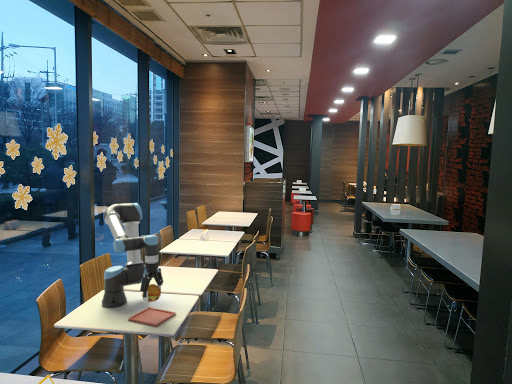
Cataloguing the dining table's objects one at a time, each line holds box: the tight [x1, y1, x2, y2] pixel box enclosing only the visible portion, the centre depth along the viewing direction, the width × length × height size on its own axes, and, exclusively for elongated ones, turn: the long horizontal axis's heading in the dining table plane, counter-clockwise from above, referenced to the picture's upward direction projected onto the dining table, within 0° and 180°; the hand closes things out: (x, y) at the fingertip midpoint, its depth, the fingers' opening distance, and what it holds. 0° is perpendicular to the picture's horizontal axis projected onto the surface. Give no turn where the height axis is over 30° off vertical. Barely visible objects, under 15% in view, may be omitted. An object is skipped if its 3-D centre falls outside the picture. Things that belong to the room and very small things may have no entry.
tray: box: [127, 307, 177, 328], centre depth 216 cm, size 20×18×2 cm
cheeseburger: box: [141, 283, 162, 303], centre depth 215 cm, size 10×11×10 cm
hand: (152, 299), depth 215 cm, fingers closed on cheeseburger, 10 cm apart
